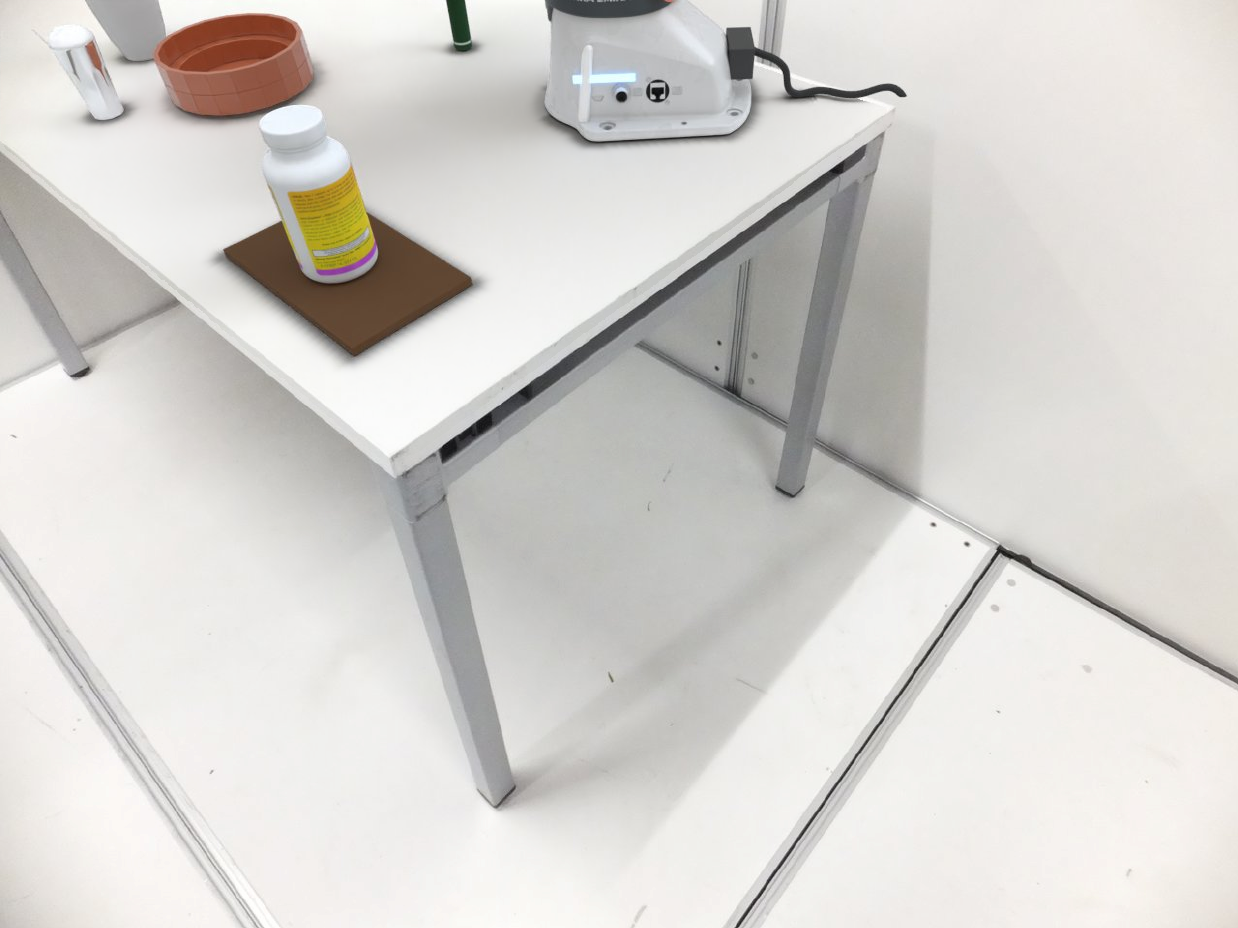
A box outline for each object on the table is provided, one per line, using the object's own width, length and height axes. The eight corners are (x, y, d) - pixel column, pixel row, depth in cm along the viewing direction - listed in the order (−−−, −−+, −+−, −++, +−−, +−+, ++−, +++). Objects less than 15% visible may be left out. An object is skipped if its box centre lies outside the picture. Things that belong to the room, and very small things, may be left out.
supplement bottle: (396, 255, 72) (354, 111, 62) (339, 296, 68) (286, 150, 58) (342, 233, 74) (294, 90, 64) (285, 271, 71) (225, 127, 61)
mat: (472, 285, 70) (471, 277, 69) (354, 356, 64) (351, 348, 64) (339, 200, 79) (336, 193, 79) (226, 257, 74) (222, 249, 73)
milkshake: (72, 120, 92) (19, 25, 84) (114, 100, 95) (67, 7, 87) (96, 130, 90) (44, 34, 83) (138, 110, 93) (92, 15, 85)
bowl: (335, 58, 100) (322, 14, 96) (281, 122, 90) (264, 76, 86) (213, 54, 102) (196, 11, 98) (146, 117, 92) (124, 71, 88)
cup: (191, 39, 106) (155, -49, 98) (162, 67, 100) (122, -24, 93) (131, 38, 106) (91, -49, 99) (99, 66, 101) (54, -24, 93)
